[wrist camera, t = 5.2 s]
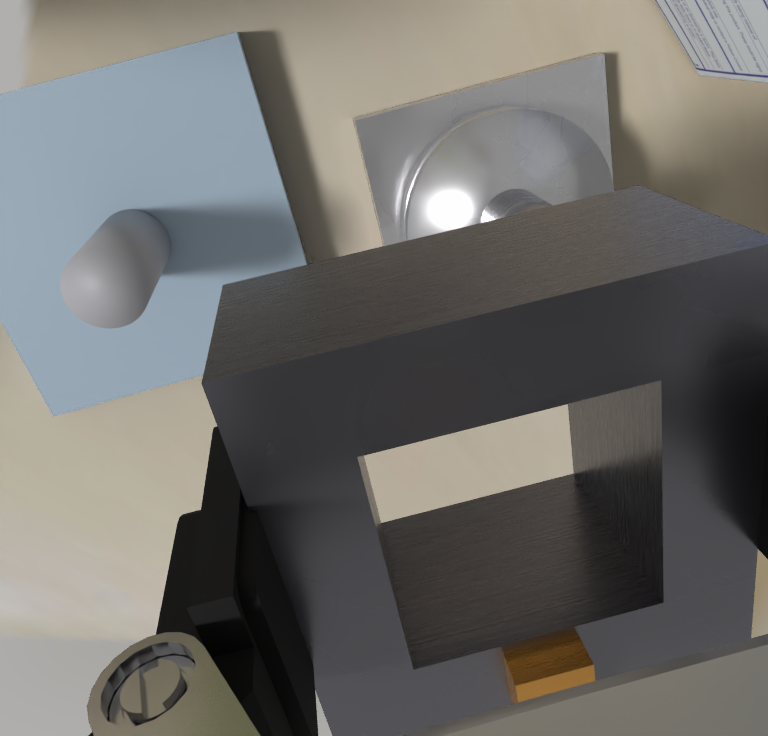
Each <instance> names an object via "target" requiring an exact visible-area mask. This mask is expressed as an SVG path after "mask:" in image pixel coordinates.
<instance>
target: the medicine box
mask: <svg viewBox="0 0 768 736" xmlns="http://www.w3.org/2000/svg"><path fill="white" fill-rule="evenodd" d="M654 1H655V3H656V4H657V6H658V8H659V9H660V11H661V12H662V14H663V16H664V18H665V19H666V21H667V23H668V24H669V26H670V28H671V29H672V31H673V33H674V34H675V36H676V38H677V39H678V41H679V42H680V44H681V46H682V47H683V49H684V51H685V52H686V54H687V56H688V57H689V59H690V61H691V62H692V64H693V66H694V68H695V71H696V73H697V74H698V75H699V76H705V77H715V78H725V79H734V80H745V81H753V82H763V83H768V0H654Z"/></svg>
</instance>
